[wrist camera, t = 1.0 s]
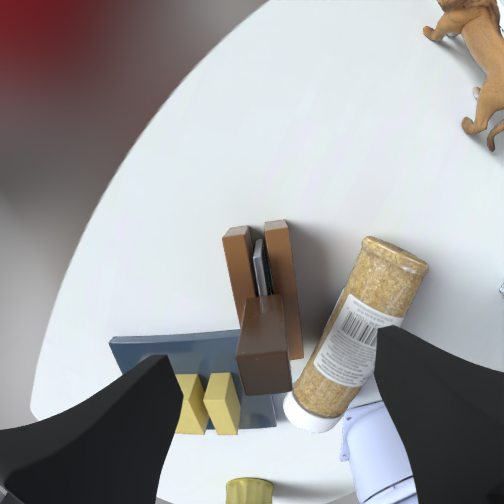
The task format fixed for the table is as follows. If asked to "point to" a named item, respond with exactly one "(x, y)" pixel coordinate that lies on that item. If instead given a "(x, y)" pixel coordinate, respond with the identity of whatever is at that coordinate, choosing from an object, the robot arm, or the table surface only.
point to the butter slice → (223, 403)
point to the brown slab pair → (281, 271)
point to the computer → (501, 12)
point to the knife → (263, 338)
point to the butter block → (192, 406)
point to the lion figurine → (478, 55)
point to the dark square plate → (199, 366)
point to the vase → (249, 491)
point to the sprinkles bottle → (354, 334)
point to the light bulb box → (502, 290)
